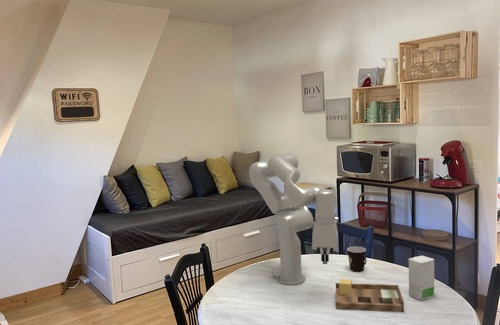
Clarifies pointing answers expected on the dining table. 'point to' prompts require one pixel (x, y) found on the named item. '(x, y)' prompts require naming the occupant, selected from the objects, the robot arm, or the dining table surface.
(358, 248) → the coffee mug
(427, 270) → the skincare box
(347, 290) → the ochre block
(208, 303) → the dining table surface
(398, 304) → the board
